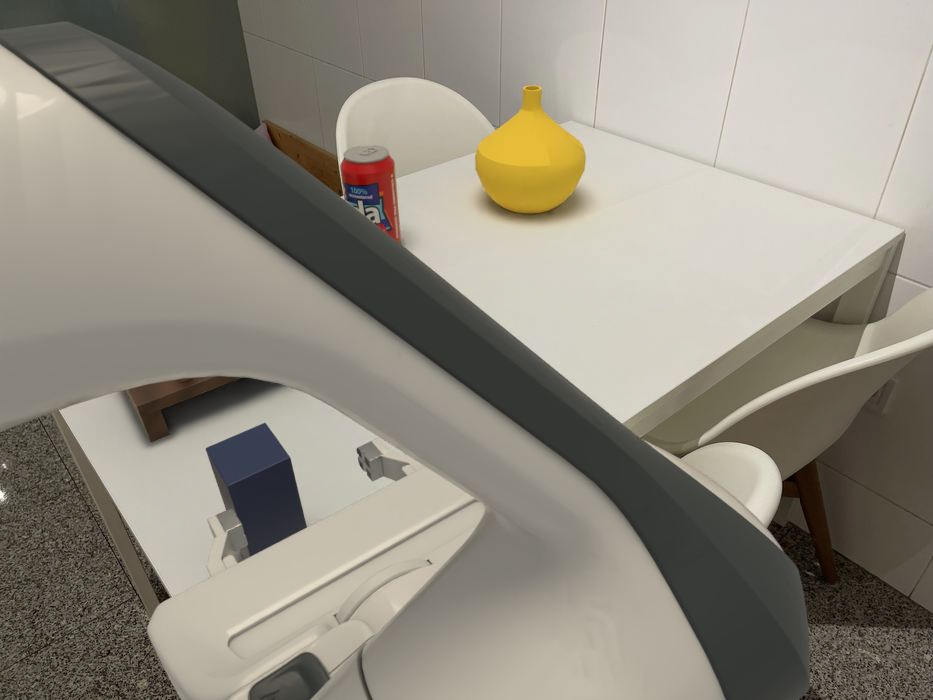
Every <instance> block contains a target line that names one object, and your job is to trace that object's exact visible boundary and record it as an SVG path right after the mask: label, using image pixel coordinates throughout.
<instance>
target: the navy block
mask: <svg viewBox="0 0 933 700" xmlns="http://www.w3.org/2000/svg"><path fill="white" fill-rule="evenodd" d="M205 452H206V455H207V458H208V461H209V464H210V466H211V470H212V473H213V476H214V480H215V481H216V484H217V487H218V491H219V493H220V496H221V499H222V503H223V504H224V508H225V511H226V510H228V509H231V508H233V510H234V511H235V514H236V516H237V517H238V518H239V520H240V522H241V524H242V526H243V529H244V534H245V536H246V538H247V541H248V545H247V546H245V547H243V548H241V549H240V550H239V553H240V555H241V557H242V558H243V560H245V559H247V558H249V557H251V556H253V555H255V554H257V553H259V552H261V551H262V550H264V549H266V548H268V547H270V546H272V545H274V544H276V543H278V542H280V541H282V540H284V539H286V538H288V537H289V536H291V535H293V534H295V533H297V532H299V531H301V530H303V529H305V528H307V527H308V525H307V521H306V517H305V513H304V509H303V505H302V500H301V496H300V492H299V488H298V484H297V479H296V476H295V475H296V474H295V472H294V468H293V462H292V458H291V456H290V455H289V453H288V452H287V451H286V449H285V448H284V447H283V445H282V443H281V442H280V440H279V439H278V438H277V436H276V435H275V433H273V431H272V429H271V428H270V427H269V425H268V424H267V423H266V422H263V423H261V424H258V425H255V426H254V427H251V428H249V429H247V430H244V431H242V432H239V433H237V434H235V435H233V436H230V437H228V438H225V439H223V440H221V441H218V442H216V443H215V444H211V445H210V446H207V447H205Z"/></svg>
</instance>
